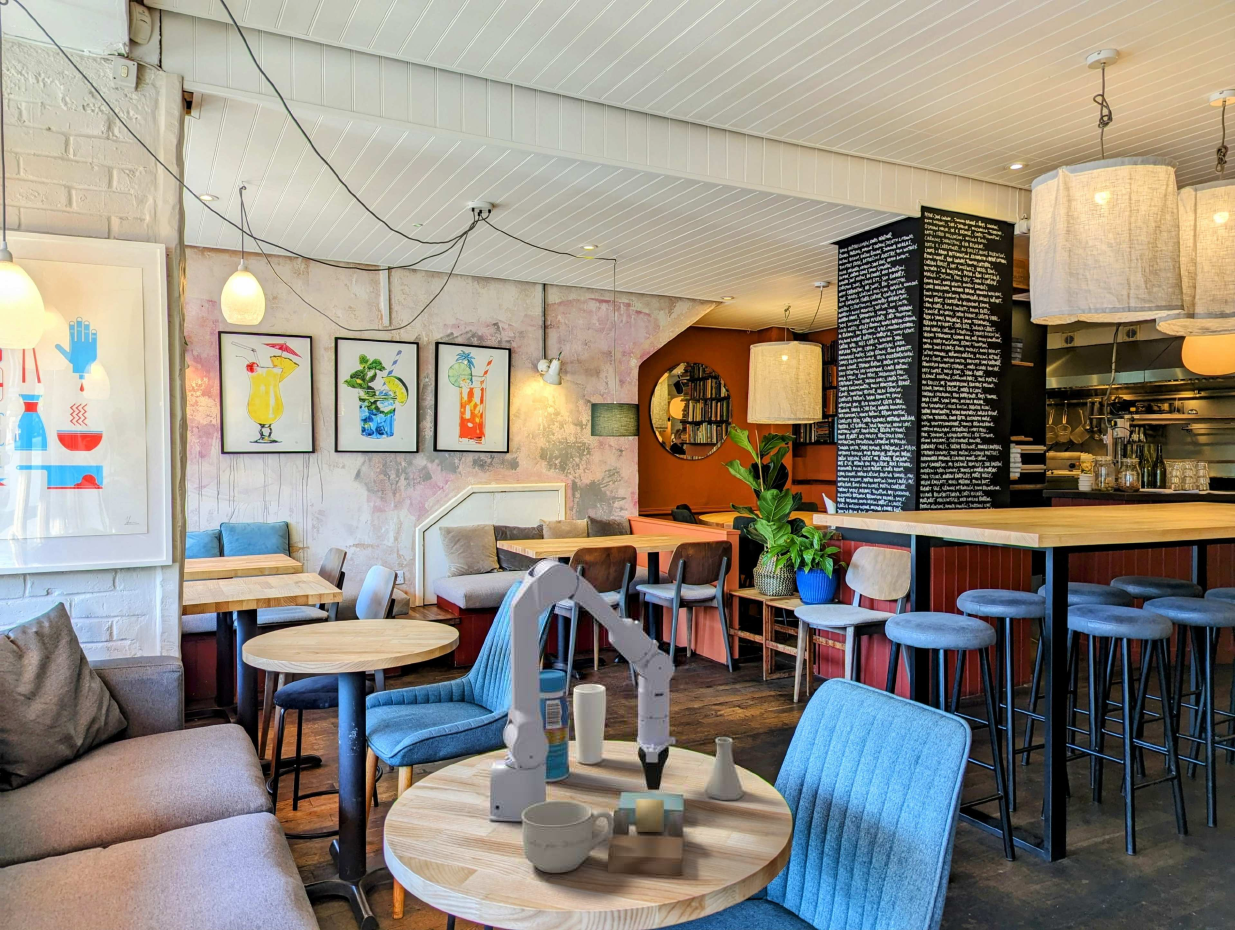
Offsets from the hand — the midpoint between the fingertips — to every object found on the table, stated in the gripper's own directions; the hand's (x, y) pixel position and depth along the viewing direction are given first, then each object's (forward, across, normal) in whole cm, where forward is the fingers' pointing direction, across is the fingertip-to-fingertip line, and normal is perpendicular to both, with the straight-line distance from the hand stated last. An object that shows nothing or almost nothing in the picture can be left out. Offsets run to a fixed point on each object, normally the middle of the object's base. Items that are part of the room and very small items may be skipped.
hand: (653, 788), depth 149 cm
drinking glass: (+2, +18, +14) cm, 22 cm away
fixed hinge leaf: (+1, -23, 0) cm, 23 cm away
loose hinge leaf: (+1, -11, 0) cm, 11 cm away
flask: (+2, +2, -13) cm, 13 cm away
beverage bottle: (+2, +8, +21) cm, 23 cm away
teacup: (+2, -27, +12) cm, 30 cm away
